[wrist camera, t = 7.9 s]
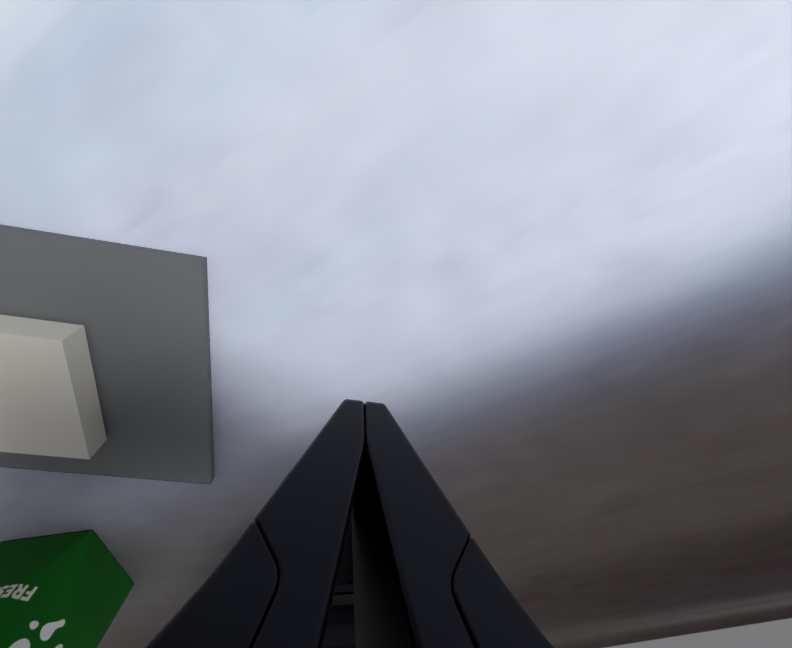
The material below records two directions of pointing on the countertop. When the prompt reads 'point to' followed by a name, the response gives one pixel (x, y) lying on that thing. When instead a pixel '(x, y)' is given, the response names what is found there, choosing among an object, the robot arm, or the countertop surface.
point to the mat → (124, 347)
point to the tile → (47, 390)
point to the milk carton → (58, 591)
